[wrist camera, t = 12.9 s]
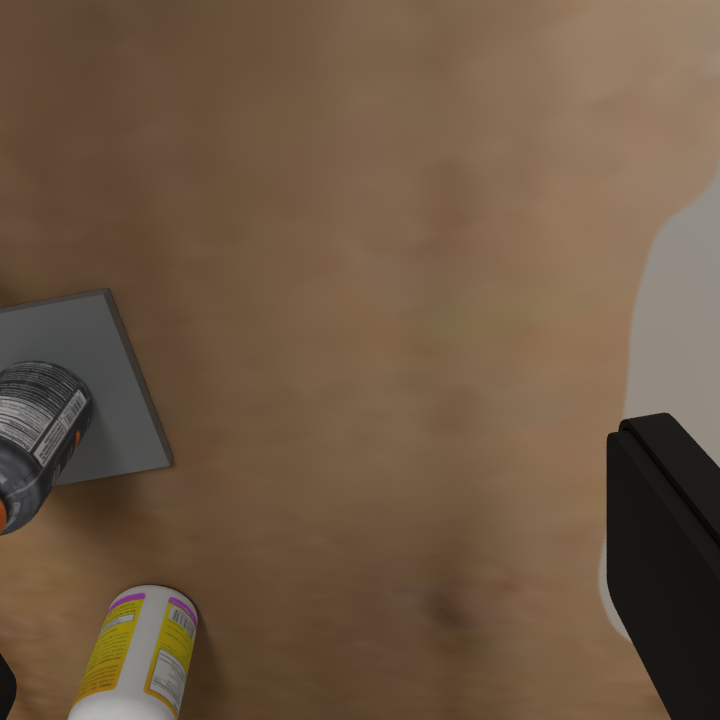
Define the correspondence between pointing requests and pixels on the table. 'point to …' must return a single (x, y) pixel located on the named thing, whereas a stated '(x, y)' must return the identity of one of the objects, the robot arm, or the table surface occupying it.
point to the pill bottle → (37, 435)
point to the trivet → (91, 380)
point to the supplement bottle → (139, 658)
